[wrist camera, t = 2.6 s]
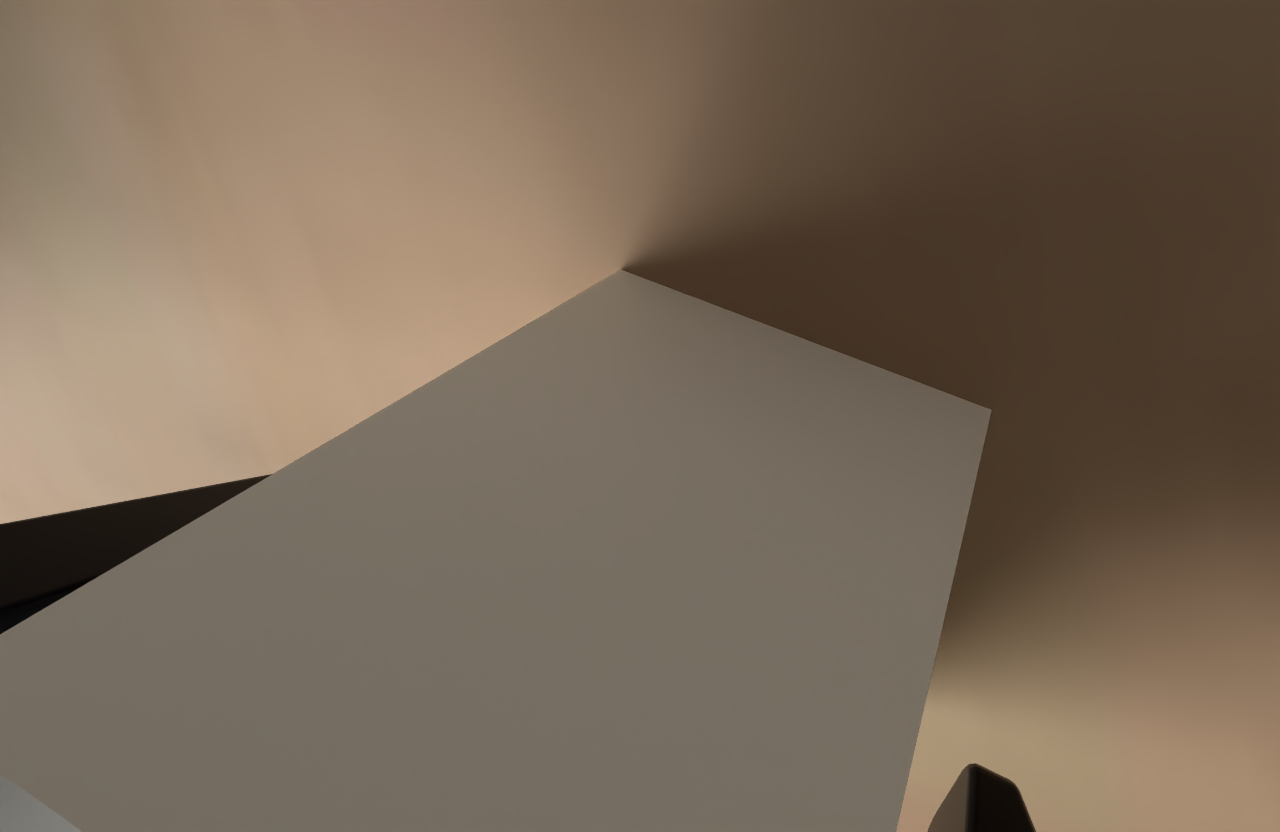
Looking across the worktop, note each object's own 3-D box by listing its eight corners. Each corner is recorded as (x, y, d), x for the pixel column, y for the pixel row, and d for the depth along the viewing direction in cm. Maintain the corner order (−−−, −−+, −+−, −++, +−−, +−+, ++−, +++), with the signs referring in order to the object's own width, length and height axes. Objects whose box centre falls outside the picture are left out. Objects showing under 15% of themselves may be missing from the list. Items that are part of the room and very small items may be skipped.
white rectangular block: (562, 551, 13) (37, 1109, 7) (620, 269, 11) (-107, 698, 4) (853, 694, 12) (565, 1560, 5) (991, 409, 9) (781, 1332, 3)
